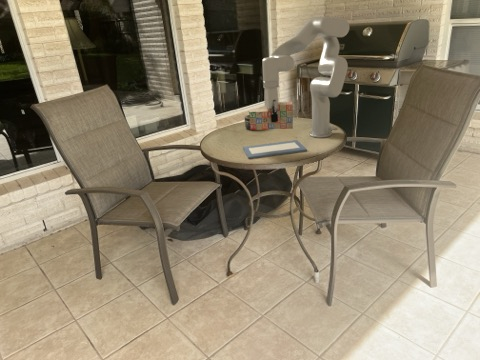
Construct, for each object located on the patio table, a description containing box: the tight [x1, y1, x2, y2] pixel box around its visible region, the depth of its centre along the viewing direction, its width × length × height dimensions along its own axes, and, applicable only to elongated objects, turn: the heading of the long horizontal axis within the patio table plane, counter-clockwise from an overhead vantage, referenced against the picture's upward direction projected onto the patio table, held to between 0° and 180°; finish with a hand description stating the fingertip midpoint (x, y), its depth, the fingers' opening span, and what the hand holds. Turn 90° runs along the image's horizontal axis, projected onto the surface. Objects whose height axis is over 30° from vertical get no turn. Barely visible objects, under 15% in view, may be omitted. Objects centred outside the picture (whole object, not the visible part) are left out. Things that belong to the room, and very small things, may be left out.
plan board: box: [242, 139, 308, 160], centre depth 191 cm, size 30×16×1 cm, turn 100°
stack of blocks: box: [248, 101, 294, 131], centre depth 184 cm, size 21×6×12 cm, turn 82°
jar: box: [244, 114, 251, 131], centre depth 229 cm, size 10×10×8 cm
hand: (272, 119), depth 185 cm, fingers closed on stack of blocks, 7 cm apart
